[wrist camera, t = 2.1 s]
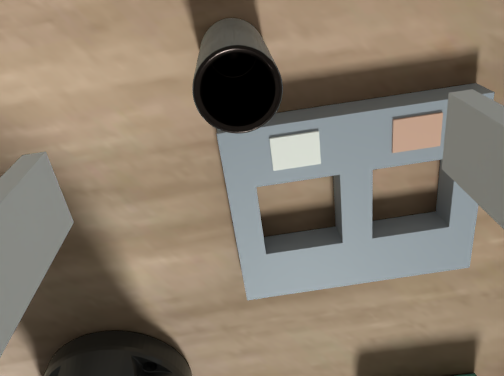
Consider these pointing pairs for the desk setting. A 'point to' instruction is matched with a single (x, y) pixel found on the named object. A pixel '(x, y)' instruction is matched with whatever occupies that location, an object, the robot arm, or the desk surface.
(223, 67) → the grey hollow cylinder
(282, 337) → the desk surface
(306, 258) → the socket board
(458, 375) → the box
